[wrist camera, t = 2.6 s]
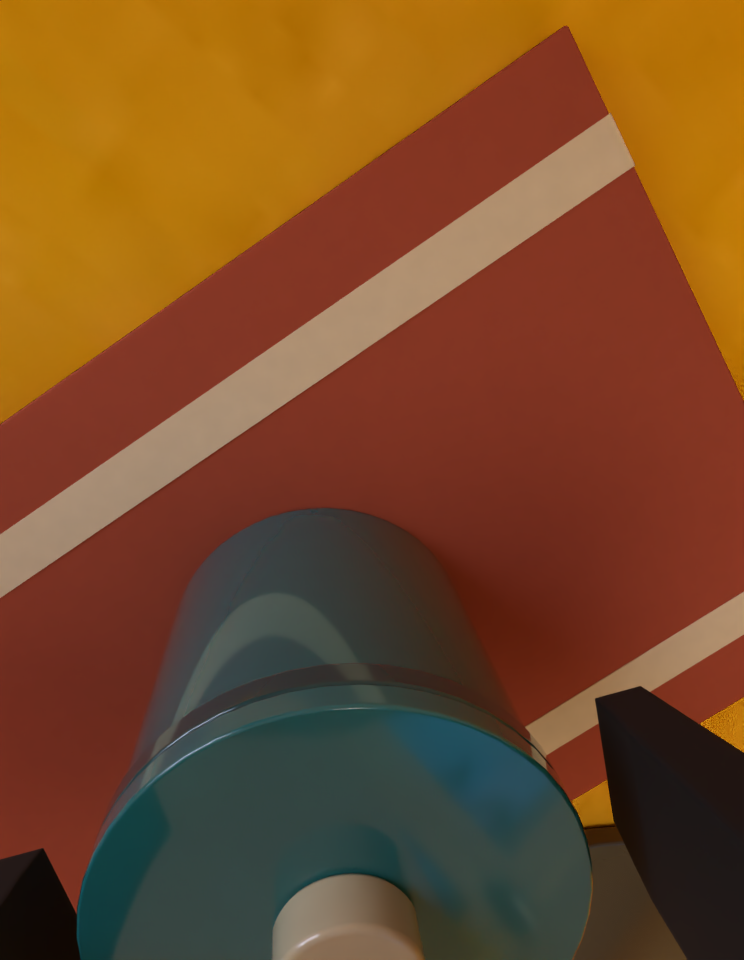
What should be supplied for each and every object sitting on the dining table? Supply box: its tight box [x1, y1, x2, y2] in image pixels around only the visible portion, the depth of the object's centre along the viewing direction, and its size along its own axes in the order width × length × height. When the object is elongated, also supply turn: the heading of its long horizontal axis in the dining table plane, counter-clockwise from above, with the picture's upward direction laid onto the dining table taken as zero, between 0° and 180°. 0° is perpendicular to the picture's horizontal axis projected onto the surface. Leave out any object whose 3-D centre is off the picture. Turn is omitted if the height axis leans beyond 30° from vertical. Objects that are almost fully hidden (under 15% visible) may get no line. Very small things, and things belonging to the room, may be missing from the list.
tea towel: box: [0, 26, 744, 914], centre depth 14 cm, size 18×13×1 cm
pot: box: [76, 508, 593, 960], centre depth 10 cm, size 6×6×7 cm
